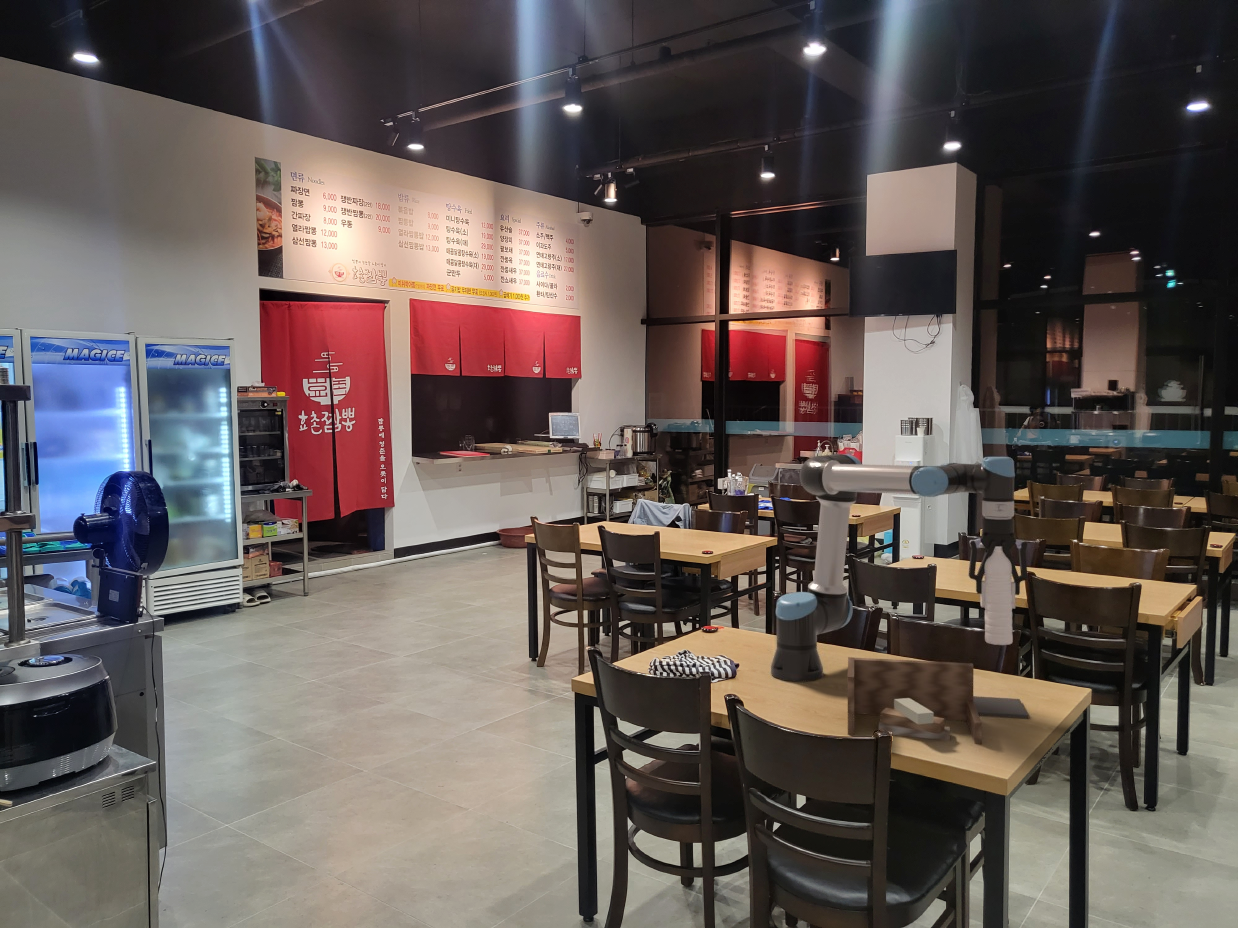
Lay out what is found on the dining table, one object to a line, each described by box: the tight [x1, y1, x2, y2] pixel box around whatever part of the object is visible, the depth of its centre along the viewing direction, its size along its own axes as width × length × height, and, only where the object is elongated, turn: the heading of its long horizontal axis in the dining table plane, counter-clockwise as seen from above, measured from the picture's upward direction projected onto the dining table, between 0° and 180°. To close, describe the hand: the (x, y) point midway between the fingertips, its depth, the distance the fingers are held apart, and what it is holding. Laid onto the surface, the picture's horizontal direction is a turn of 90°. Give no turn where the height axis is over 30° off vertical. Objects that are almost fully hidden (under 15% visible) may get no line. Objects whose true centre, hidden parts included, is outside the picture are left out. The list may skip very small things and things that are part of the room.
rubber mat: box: [973, 695, 1030, 719], centre depth 231 cm, size 13×13×1 cm
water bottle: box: [978, 543, 1014, 646], centre depth 230 cm, size 9×6×25 cm
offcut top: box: [894, 698, 934, 724], centre depth 214 cm, size 11×4×2 cm, turn 12°
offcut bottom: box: [878, 719, 951, 741], centre depth 214 cm, size 16×4×2 cm, turn 69°
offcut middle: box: [880, 708, 946, 734], centre depth 215 cm, size 14×4×2 cm, turn 54°
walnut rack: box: [847, 656, 983, 745], centre depth 219 cm, size 30×18×14 cm, turn 75°
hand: (997, 606), depth 230 cm, fingers closed on water bottle, 6 cm apart
